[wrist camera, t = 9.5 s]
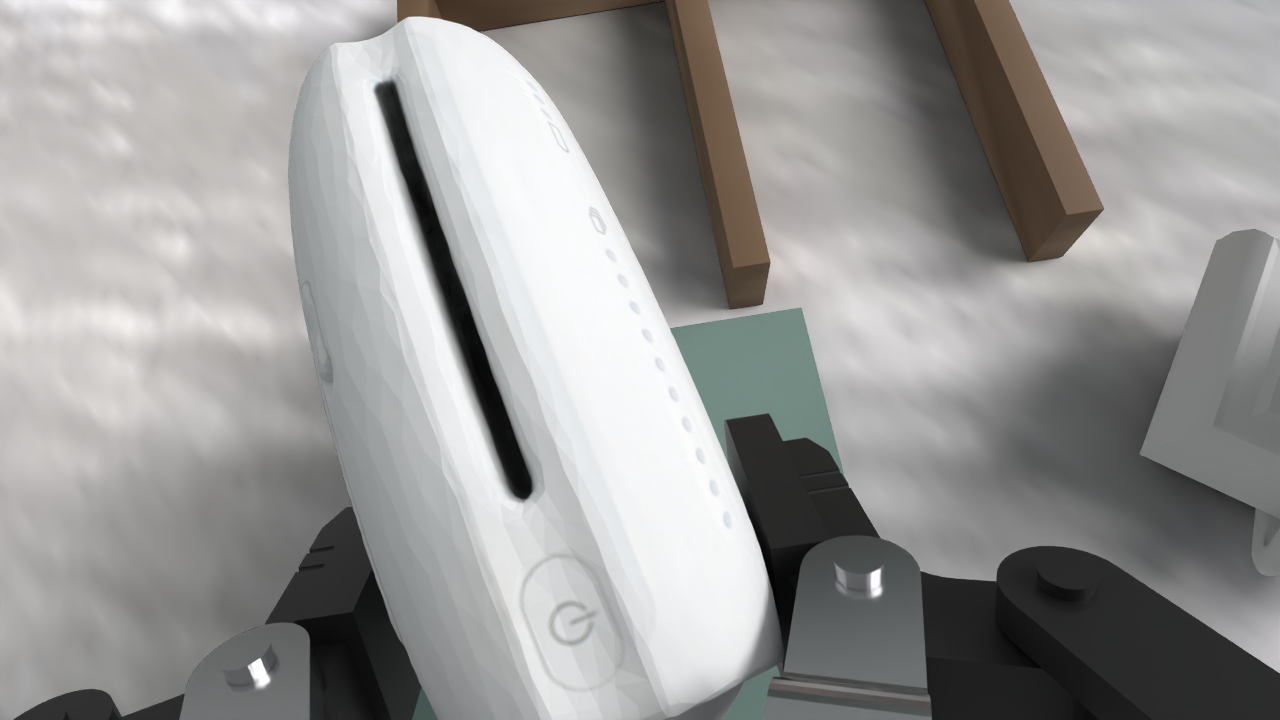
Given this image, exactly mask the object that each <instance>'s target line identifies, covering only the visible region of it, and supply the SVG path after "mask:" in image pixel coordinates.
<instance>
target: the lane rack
mask: <svg viewBox="0 0 1280 720" xmlns="http://www.w3.org/2000/svg"><path fill="white" fill-rule="evenodd" d="M660 1H665V5H666V9H667V14H668V19H669V24H670V28H671V33H672V38H673V43H674V47H675V52H676V57H677V62H678V66H679V71H680V76H681V81H682V85H683V90H684V95H685V100H686V104H687V109H688V114H689V119H690V123H691V128H692V133H693V137H694V142H695V147H696V152H697V156H698V161H699V166H700V171H701V175H702V180H703V185H704V190H705V194H706V199H707V204H708V209H709V213H710V218H711V223H712V228H713V232H714V237H715V242H716V247H717V251H718V256H719V261H720V266H721V270H722V275H723V280H724V285H725V289H726V294H727V299H728V304H729V308H730V309H735V308H741V307H748V306H754V305H760V304H763V300H764V295H765V289H766V284H767V278H768V273H769V267H770V258H769V254H768V250H767V246H766V242H765V238H764V233H763V229H762V225H761V221H760V217H759V213H758V209H757V204H756V200H755V196H754V192H753V188H752V184H751V179H750V175H749V171H748V167H747V163H746V159H745V155H744V150H743V146H742V142H741V138H740V134H739V130H738V126H737V121H736V117H735V113H734V109H733V105H732V101H731V97H730V92H729V88H728V84H727V80H726V76H725V72H724V68H723V63H722V59H721V55H720V51H719V47H718V43H717V39H716V34H715V30H714V26H713V22H712V18H711V14H710V10H709V5H708V1H707V0H397V18H398V23H399V22H400V21H402V20H404V19H405V18H407V17H429V18H438V19H442V20H446V21H450V22H454V23H458V24H461V25H464V26H467V27H469V28H471V29H473V30H475V31H481V30H488V29H494V28H500V27H506V26H512V25H518V24H524V23H531V22H537V21H543V20H549V19H555V18H561V17H567V16H574V15H580V14H586V13H592V12H598V11H604V10H611V9H617V8H623V7H629V6H635V5H641V4H647V3H654V2H660ZM925 3H926V5H927V8H928V10H929V13H930V15H931V18H932V20H933V23H934V25H935V28H936V30H937V33H938V35H939V38H940V40H941V43H942V45H943V48H944V50H945V53H946V55H947V58H948V60H949V63H950V65H951V68H952V70H953V73H954V76H955V78H956V81H957V83H958V86H959V88H960V91H961V93H962V96H963V98H964V101H965V103H966V106H967V108H968V111H969V113H970V116H971V118H972V121H973V123H974V126H975V128H976V131H977V133H978V136H979V138H980V141H981V143H982V146H983V148H984V151H985V153H986V156H987V159H988V161H989V164H990V166H991V169H992V171H993V174H994V176H995V179H996V181H997V184H998V186H999V189H1000V191H1001V194H1002V196H1003V199H1004V201H1005V204H1006V206H1007V209H1008V211H1009V214H1010V216H1011V219H1012V221H1013V224H1014V226H1015V229H1016V231H1017V234H1018V236H1019V239H1020V241H1021V244H1022V247H1023V249H1024V252H1025V254H1026V257H1027V259H1028V262H1032V261H1038V260H1045V259H1051V258H1057V257H1062V256H1063V255H1064V254H1065V253H1066V252H1067V251H1068V249H1069V248H1070V247H1071V246H1072V245H1073V244H1074V243H1075V242H1076V240H1077V239H1078V238H1079V237H1080V236H1081V235H1082V234H1083V232H1084V231H1085V230H1086V229H1087V228H1088V227H1089V226H1090V225H1091V223H1092V222H1093V221H1094V220H1095V219H1096V218H1097V217H1098V215H1099V214H1100V213H1101V212H1102V211H1103V210H1104V207H1103V205H1102V203H1101V201H1100V199H1099V196H1098V194H1097V192H1096V190H1095V188H1094V185H1093V183H1092V181H1091V179H1090V177H1089V175H1088V172H1087V170H1086V168H1085V166H1084V164H1083V161H1082V159H1081V157H1080V155H1079V153H1078V151H1077V148H1076V146H1075V144H1074V142H1073V140H1072V137H1071V135H1070V133H1069V131H1068V129H1067V127H1066V124H1065V122H1064V120H1063V118H1062V116H1061V113H1060V111H1059V109H1058V107H1057V105H1056V103H1055V100H1054V98H1053V96H1052V94H1051V92H1050V89H1049V87H1048V85H1047V83H1046V81H1045V79H1044V76H1043V74H1042V72H1041V70H1040V68H1039V65H1038V63H1037V61H1036V59H1035V57H1034V55H1033V52H1032V50H1031V48H1030V46H1029V44H1028V41H1027V39H1026V37H1025V35H1024V33H1023V30H1022V28H1021V26H1020V24H1019V22H1018V20H1017V17H1016V15H1015V13H1014V11H1013V9H1012V6H1011V4H1010V2H1009V0H925Z"/></svg>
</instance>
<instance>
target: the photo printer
mask: <svg viewBox="0 0 1280 720" xmlns="http://www.w3.org/2000/svg"><path fill="white" fill-rule="evenodd" d="M288 180H289V198H290V214H291V230H292V238H293V247H294V257H295V264H296V271H297V277H298V283H299V289H300V294H301V300H302V306H303V312H304V317H305V322H306V326H307V331H308V336H309V340H310V345H311V350H312V354H313V359H314V363H315V367H316V372H317V376H318V381H319V385H320V389H321V394H322V398H323V402H324V407H325V411H326V415H327V418H328V422H329V426H330V430H331V433H332V437H333V441H334V444H335V447H336V451H337V454H338V458H339V462H340V465H341V468H342V472H343V478H344V480H345V483H346V487H347V492H348V494H349V497H350V499H351V503H352V507H353V510H354V513H355V516H356V518H357V522H358V526H359V528H360V531H361V534H362V538H363V542H364V546H365V549H366V551H367V554H368V557H369V560H370V562H371V565H372V568H373V571H374V574H375V578H376V581H377V584H378V586H379V589H380V591H381V594H382V596H383V599H384V602H385V605H386V609H387V612H388V615H389V618H390V621H391V623H392V626H393V628H394V630H395V632H396V634H397V636H398V638H399V640H400V641H401V642H402V644H403V645H404V646H405V649H406V651H407V653H408V656H409V658H410V661H411V664H412V666H413V668H414V670H415V673H416V675H417V677H418V680H419V682H420V684H421V686H422V688H423V690H424V692H425V694H426V696H427V698H428V700H429V702H430V705H431V707H432V709H433V711H434V713H435V715H436V717H437V719H438V720H722V719H723V717H724V716H725V714H726V713H727V711H728V709H729V708H730V706H731V705H732V703H733V702H734V700H735V699H736V697H737V695H738V693H739V691H740V689H741V687H742V685H743V683H744V682H745V681H747V680H749V679H751V678H753V677H755V676H757V675H759V674H761V673H763V672H765V671H767V670H769V669H771V668H773V667H774V666H776V665H777V664H779V663H781V662H782V661H783V660H784V653H785V651H784V646H783V640H782V635H781V629H780V623H779V618H778V613H777V609H776V605H775V600H774V596H773V591H772V587H771V584H770V581H769V577H768V574H767V570H766V567H765V563H764V560H763V556H762V552H761V549H760V546H759V543H758V540H757V538H756V535H755V532H754V529H753V526H752V523H751V521H750V519H749V517H748V514H747V511H746V508H745V505H744V502H743V500H742V497H741V495H740V492H739V490H738V487H737V485H736V483H735V480H734V478H733V475H732V473H731V470H730V468H729V465H728V463H727V460H726V458H725V455H724V453H723V450H722V448H721V446H720V443H719V441H718V439H717V436H716V434H715V431H714V429H713V427H712V424H711V422H710V419H709V417H708V414H707V412H706V410H705V407H704V405H703V403H702V400H701V398H700V396H699V393H698V391H697V389H696V386H695V384H694V382H693V380H692V377H691V375H690V373H689V371H688V368H687V366H686V364H685V362H684V359H683V357H682V355H681V353H680V350H679V348H678V346H677V343H676V341H675V339H674V337H673V335H672V333H671V330H670V328H669V326H668V323H667V321H666V319H665V317H664V315H663V313H662V311H661V309H660V307H659V305H658V302H657V300H656V298H655V296H654V294H653V292H652V289H651V287H650V285H649V283H648V281H647V278H646V276H645V274H644V272H643V270H642V268H641V266H640V264H639V262H638V260H637V258H636V256H635V254H634V252H633V250H632V248H631V245H630V243H629V241H628V239H627V237H626V235H625V233H624V231H623V229H622V227H621V225H620V223H619V221H618V219H617V217H616V215H615V213H614V211H613V209H612V207H611V205H610V203H609V201H608V199H607V197H606V195H605V193H604V191H603V189H602V187H601V185H600V183H599V182H598V180H597V178H596V176H595V174H594V172H593V170H592V168H591V166H590V164H589V163H588V161H587V159H586V157H585V155H584V153H583V152H582V150H581V148H580V146H579V145H578V143H577V141H576V139H575V138H574V136H573V134H572V132H571V130H570V129H569V127H568V125H567V123H566V122H565V120H564V118H563V117H562V115H561V114H560V112H559V111H558V109H557V108H556V106H555V105H554V103H553V102H552V100H551V99H550V98H549V96H548V95H547V94H546V92H545V91H544V90H543V88H542V87H541V85H540V84H539V83H538V82H537V81H536V80H535V79H534V78H533V77H532V76H531V75H530V74H529V72H528V71H527V70H526V69H525V68H524V67H523V66H521V64H520V63H519V62H518V61H517V60H516V59H515V58H514V57H513V56H512V55H510V54H509V53H508V52H507V51H506V50H505V49H504V48H502V47H501V46H500V45H499V44H497V43H496V42H494V41H493V40H492V39H490V38H489V37H487V36H485V35H483V34H481V33H479V32H477V31H475V30H473V29H471V28H469V27H467V26H464V25H461V24H458V23H454V22H450V21H446V20H442V19H438V18H429V17H407V18H405V19H404V20H402V21H400V22H399V23H397V24H396V25H395V26H393V27H392V28H391V29H389V30H388V31H386V32H385V33H383V34H382V35H379V36H377V37H374V38H372V39H369V40H364V41H359V42H346V43H334V44H332V45H331V46H330V47H328V48H327V49H326V50H325V51H324V52H323V53H322V54H321V55H320V56H319V57H318V58H317V60H316V61H315V63H314V64H313V66H312V67H311V69H310V70H309V72H308V74H307V76H306V79H305V81H304V83H303V85H302V87H301V91H300V95H299V98H298V102H297V106H296V110H295V114H294V119H293V126H292V133H291V140H290V147H289V166H288Z"/></svg>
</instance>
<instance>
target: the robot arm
mask: <svg viewBox="0 0 1280 720" xmlns="http://www.w3.org/2000/svg"><path fill="white" fill-rule="evenodd" d="M724 429H725V439H726V447H727V456H728V464H729V468H730V470H731V473H732V475H733V478H734V480H735V483H736V485H737V487H738V490H739V492H740V495H741V497H742V500H743V502H744V505H745V508H746V511H747V514H748V517H749V519H750V521H751V523H752V526H753V529H754V532H755V535H756V538H757V540H758V543H759V546H760V549H761V552H762V556H763V560H764V563H765V567H766V570H767V574H768V577H769V581H770V584H771V587H772V591H773V596H774V600H775V605H776V609H777V613H778V618H779V623H780V629H781V635H782V640H783V646H784V651H785V653H784V660H783V661H782V662H781V663H779V664H777V667H778V671H779V674H780V677H779V676H773V678H772V679H771V682H770V685H769V689H768V693H767V699H766V704H765V710H764V715H763V720H1280V673H1278V672H1276V671H1275V670H1273V669H1272V668H1270V667H1269V666H1267V665H1266V664H1264V663H1263V662H1261V661H1260V660H1258V659H1257V658H1255V657H1254V656H1252V655H1251V654H1249V653H1248V652H1246V651H1245V650H1243V649H1242V648H1240V647H1239V646H1237V645H1236V644H1234V643H1233V642H1231V641H1230V640H1228V639H1227V638H1225V637H1223V636H1222V635H1220V634H1219V633H1217V632H1216V631H1214V630H1213V629H1211V628H1210V627H1208V626H1207V625H1205V624H1204V623H1202V622H1201V621H1199V620H1198V619H1196V618H1195V617H1193V616H1192V615H1190V614H1189V613H1187V612H1186V611H1184V610H1183V609H1181V608H1180V607H1178V606H1177V605H1175V604H1173V603H1172V602H1170V601H1169V600H1167V599H1166V598H1164V597H1163V596H1161V595H1160V594H1158V593H1157V592H1155V591H1154V590H1152V589H1151V588H1149V587H1148V586H1146V585H1145V584H1143V583H1142V582H1140V581H1139V580H1137V579H1136V578H1134V577H1133V576H1131V575H1130V574H1128V573H1127V572H1125V571H1124V570H1122V569H1120V568H1119V567H1117V566H1116V565H1114V564H1112V563H1111V562H1109V561H1107V560H1105V559H1103V558H1101V557H1098V556H1096V555H1093V554H1090V553H1087V552H1085V551H1080V550H1076V549H1072V548H1066V547H1057V546H1038V547H1031V548H1026V549H1022V550H1019V551H1017V552H1014V553H1012V554H1010V555H1009V556H1007V557H1006V558H1005V559H1004V560H1003V561H1002V562H1001V563H1000V565H999V567H998V570H997V580H996V582H995V581H981V580H967V579H954V578H946V577H940V576H935V575H931V574H928V573H925V572H921V571H920V568H919V566H918V564H917V562H916V560H915V559H914V558H913V557H912V555H911V554H909V553H908V552H907V551H906V550H905V549H903V548H901V547H900V546H898V545H896V544H894V543H892V542H890V541H886V540H883V539H880V537H879V535H878V533H877V532H876V530H875V528H874V527H873V525H872V523H871V522H870V520H869V518H868V517H867V515H866V513H865V512H864V510H863V508H862V506H861V505H860V503H859V501H858V500H857V498H856V496H855V495H854V493H853V491H852V490H851V488H849V485H848V483H847V481H846V479H845V478H844V476H843V474H842V473H840V469H839V468H838V466H837V464H836V462H835V461H834V459H833V457H832V456H831V454H830V452H829V451H828V450H826V449H825V448H823V447H821V446H820V445H818V444H816V443H815V442H813V441H812V440H810V439H808V438H807V437H806V438H800V439H793V440H787V441H783V440H782V438H781V436H780V434H779V432H778V430H777V428H776V426H775V424H774V422H773V420H772V417H771V416H770V414H769V413H766V414H760V415H753V416H747V417H740V418H734V419H727V420H725V421H724ZM421 687H422V686H421V684H420V682H419V680H418V677H417V675H416V673H415V670H414V668H413V666H412V664H411V661H410V658H409V656H408V653H407V651H406V649H405V646H404V645H403V644H402V642H401V641H400V640H399V638H398V636H397V634H396V632H395V630H394V628H393V626H392V623H391V621H390V618H389V615H388V612H387V609H386V605H385V602H384V599H383V596H382V594H381V591H380V589H379V586H378V584H377V581H376V578H375V574H374V571H373V568H372V565H371V562H370V560H369V557H368V554H367V551H366V549H365V546H364V542H363V538H362V534H361V531H360V528H359V526H358V522H357V518H356V516H355V513H354V510H353V507H347V508H345V509H344V510H343V511H342V512H341V513H339V514H338V515H337V516H336V517H335V518H334V519H332V520H331V521H330V522H329V523H328V524H327V525H325V526H324V527H323V528H322V530H321V531H320V533H319V535H318V536H317V538H316V540H315V541H314V543H313V545H312V546H311V548H310V554H307V555H306V556H305V558H304V560H303V561H302V563H301V565H300V566H299V572H296V573H295V575H294V576H293V578H292V580H291V581H290V583H289V585H288V586H287V588H286V590H285V591H284V593H283V595H282V596H281V598H280V600H279V601H278V603H277V605H276V606H275V608H274V610H273V611H272V613H271V615H270V616H269V618H268V620H267V621H266V623H265V625H263V626H260V627H256V628H253V629H251V630H248V631H246V632H243V633H241V634H239V635H237V636H235V637H233V638H232V639H230V640H228V641H227V642H225V643H223V644H222V645H221V646H219V647H218V648H216V649H215V650H214V651H213V652H211V653H210V654H209V655H208V656H207V657H206V658H205V659H204V660H203V661H202V662H201V663H200V664H199V665H198V666H197V668H196V669H195V670H194V671H193V673H192V675H191V677H190V678H189V681H188V684H187V687H186V691H185V694H182V695H180V696H177V697H175V698H172V699H169V700H167V701H164V702H161V703H159V704H156V705H153V706H150V707H148V708H145V709H142V710H140V711H137V712H134V713H132V714H129V715H126V716H124V717H122V716H121V714H120V713H119V711H118V709H117V707H116V705H115V703H114V702H113V700H112V698H111V696H110V695H109V694H108V693H106V692H104V691H102V690H96V689H85V690H79V691H74V692H70V693H67V694H63V695H61V696H58V697H55V698H52V699H50V700H48V701H46V702H43V703H41V704H39V705H37V706H35V707H34V708H32V709H30V710H28V711H26V712H25V713H23V714H21V715H20V716H18V717H17V718H15V719H14V720H412V718H413V715H414V711H415V708H416V704H417V701H418V697H419V694H420V690H421Z"/></svg>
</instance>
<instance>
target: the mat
mask: <svg viewBox="0 0 1280 720" xmlns="http://www.w3.org/2000/svg"><path fill="white" fill-rule="evenodd" d="M670 330H671V333H672V335H673V337H674V339H675V341H676V343H677V346H678V348H679V350H680V353H681V355H682V357H683V359H684V362H685V364H686V366H687V368H688V371H689V373H690V375H691V377H692V380H693V382H694V384H695V386H696V389H697V391H698V393H699V396H700V398H701V400H702V403H703V405H704V407H705V410H706V412H707V414H708V417H709V419H710V422H711V424H712V427H713V429H714V431H715V434H716V436H717V439H718V441H719V443H720V446H721V448H722V450H723V453H724V455H725V458H726V460H727V463H728V456H727V447H726V439H725V429H724V421H725V420H727V419H734V418H740V417H747V416H753V415H760V414H766V413H769V414H770V416H771V417H772V420H773V422H774V424H775V426H776V428H777V430H778V432H779V434H780V436H781V438H782V440H783V441H787V440H793V439H800V438H806V437H807V438H808V439H810V440H812V441H813V442H815V443H816V444H818V445H820V446H821V447H823V448H825V449H826V450H828V451H829V452H830V454H831V456H832V457H833V459H834V461H835V462H836V464H837V466H838V468H839V469H840V473H842V474H843V470H842V466H841V462H840V458H839V454H838V450H837V446H836V442H835V438H834V434H833V431H832V427H831V423H830V419H829V415H828V411H827V407H826V403H825V399H824V395H823V391H822V387H821V383H820V379H819V375H818V371H817V367H816V363H815V359H814V355H813V352H812V348H811V344H810V340H809V336H808V332H807V328H806V324H805V320H804V316H803V312H802V308H796V309H790V310H783V311H777V312H771V313H764V314H758V315H752V316H745V317H739V318H733V319H726V320H720V321H714V322H708V323H701V324H695V325H689V326H682V327H676V328H670ZM728 465H729V464H728ZM843 476H844V474H843ZM773 676H779V677H780V674H779V671H778V667H777V665H776V666H774V667H773V668H771V669H769V670H767V671H765V672H763V673H761V674H759V675H757V676H755V677H753V678H751V679H749V680H747V681H745V682H744V683H743V685H742V687H741V689H740V691H739V693H738V695H737V697H736V699H735V700H734V702H733V703H732V705H731V706H730V708H729V709H728V711H727V713H726V714H725V716H724V717H723V719H722V720H763V715H764V710H765V704H766V699H767V693H768V689H769V685H770V682H771V679H772V678H773ZM412 720H438V719H437V717H436V715H435V713H434V711H433V709H432V707H431V705H430V702H429V700H428V698H427V696H426V694H425V692H424V690H423V688H422V687H421V690H420V694H419V697H418V701H417V704H416V708H415V711H414V715H413V718H412Z"/></svg>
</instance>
